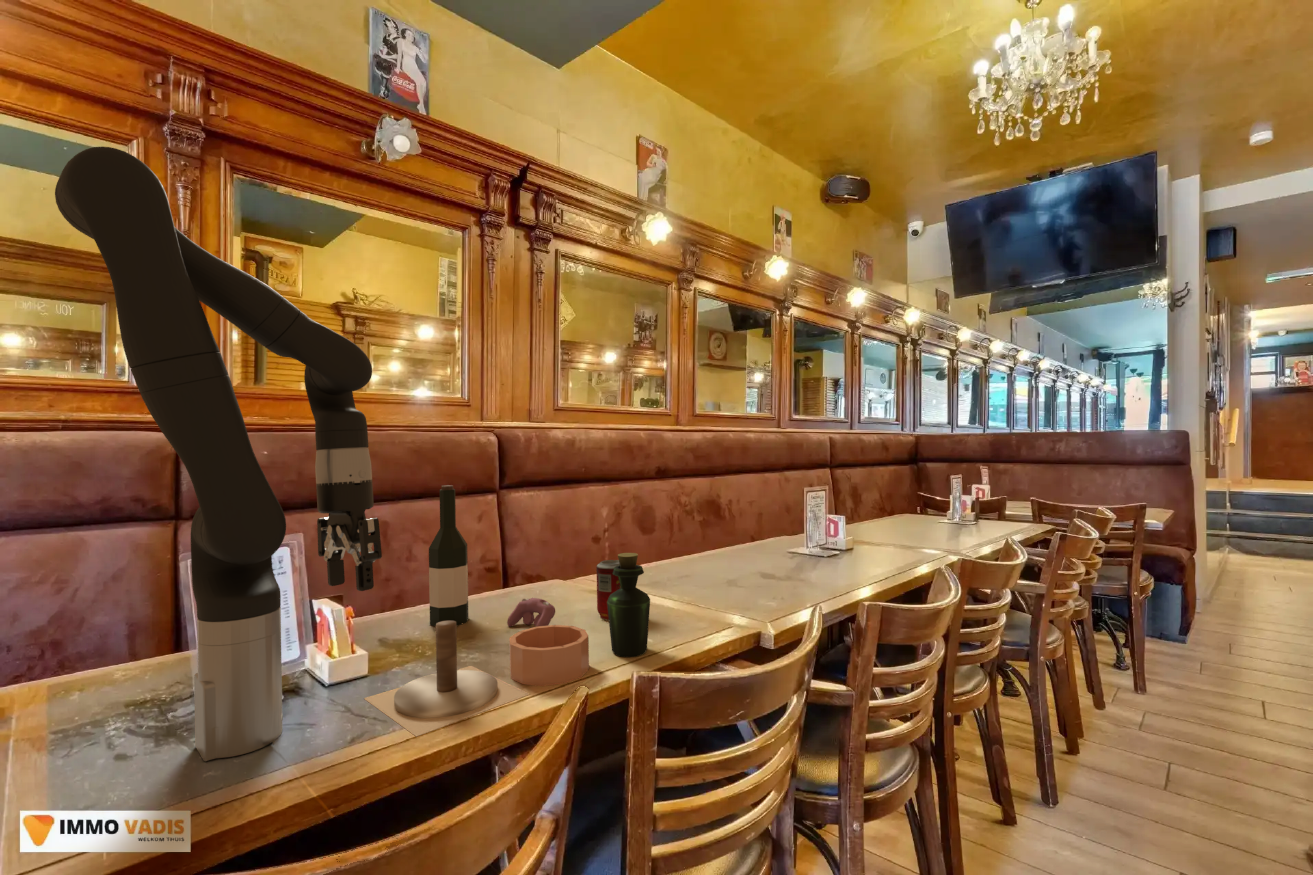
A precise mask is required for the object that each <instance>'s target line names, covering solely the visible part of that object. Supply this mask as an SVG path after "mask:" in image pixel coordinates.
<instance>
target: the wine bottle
mask: <svg viewBox="0 0 1313 875" xmlns="http://www.w3.org/2000/svg"><path fill="white" fill-rule="evenodd" d="M456 509H457V508H456V489H455V488H454V485H452V484H451V485H449V484H447V485H441V489H439V529H438V531H437V533H436V535H435V536H434V538H433V540H432V541H431V544H430V545H429V547H428V572H429V573H428V578H429V579H428V583H429V584H428V588H429V594H428V595H429V625H430V626H433V627H436V623H438V622H442V621H456V627H457V626H460V625H463V624H466V622H467V623H468V621H469V577H468V576H469V575H468V574H469V571H468V570H469V569H468V568H469V567H468V566H469V565H468V562H469V561H468V543H467V542H466V540H465V539H464V537H463V536H462V534H461V532H460V530H459V529H458V527H457V523H456V522H457V521H456V520H457V518H456V516H457V514H456V511H457V510H456ZM462 623H463V624H462Z"/></svg>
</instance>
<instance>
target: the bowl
mask: <svg viewBox="0 0 1313 875" xmlns="http://www.w3.org/2000/svg"><path fill="white" fill-rule="evenodd" d="M508 642H509V646H508V648H509V675H510V680H512V681H516V682H517V683H520V684H522V685H528V686H540V687H545V686H551V685H561V684H566V683H569V682H571V681H575V680H576V679H580V678H581V677H583V676H584V675H585V674H586V673H587V672H588V670H590V650H589V648H590V646H589V645H590V644H589V634H588V633H587V631H586V629H583V628H580V627H577V626H574V625H565V624H564V625H563V624H549V625H548V626H538V627H536V626H534V627H531V628H527V629H523V630H519V631H517V632H516V633H514V634H512V636H509V641H508Z"/></svg>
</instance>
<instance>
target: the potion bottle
mask: <svg viewBox="0 0 1313 875" xmlns="http://www.w3.org/2000/svg"><path fill="white" fill-rule="evenodd" d="M638 557H639V554H638V553H636V552H623V553H618V554H617V560H619V564H620V565H618V566H615V567H614V570H613V575H615V576H618V579H619V582H620V586H621V588H620V589H618V590H617V591H615V592H614V593H612V594H611V595H610V596H609V598H608V600H607V608H608V617H609V620H608V624H609V634H610V635H609V636H610V643H611V644H610V645H611V651H612V653H613V654H614V655H615V656H617V657H621V658H634V657H635V658H636V657H639V656H642V655H644V654H646V652H647V651H648V638H649V624H650V610H651V608H650V606H651V597H650V596H649V594H648V593H647V592H645V591H643V590H641V589H640V588H638V587H637V586H638V585H637V583H638V579H639V576H642V575H644V573H645V571H644V569H643V567H642V565H639V564H637V562H638Z"/></svg>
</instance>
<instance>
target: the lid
mask: <svg viewBox="0 0 1313 875" xmlns="http://www.w3.org/2000/svg"><path fill="white" fill-rule="evenodd" d="M457 637H458V636H457V626H456V621H442V622H438V623H436V626H435V652H436V653H435V657H436V658H435V659H436V660H435V661H436V667H435V668H436V671H435V672H436V673H432V674H427V675H424V676H421V677H418V678H415V679H413V680H411V681H409V682H407V683H405V684H403V685H402V686H400V687H401V688H399V687H398V688H399V689H398V690H397V692H396V693H395V695H394V707H395V709H396V711H398V712H399V713H401V714H403V715H405V716H409V717H414V718H441V717H449V716H454V715H459V714H462V713H466V712H469V711H472V710H475V709H477V708H479V707H481V706H483V705H485V704H487V703H488V702H490V701H491V700H492V699H493V698H494V697H495V696H496V694H497V691H498V684H497V679H496V678H497V677H496V678H495V676H494V675H492V674H490V673H488V672H486V671H483V672H481V671H482V670H481V671H474V670H458V652H457V651H458V649H457V648H458V647H457V645H458V644H457V643H458V641H457V639H458V638H457Z"/></svg>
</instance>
